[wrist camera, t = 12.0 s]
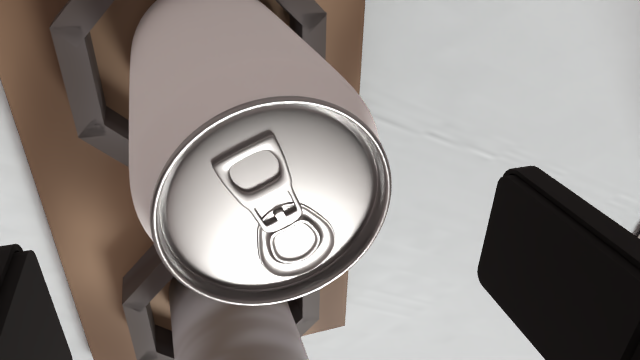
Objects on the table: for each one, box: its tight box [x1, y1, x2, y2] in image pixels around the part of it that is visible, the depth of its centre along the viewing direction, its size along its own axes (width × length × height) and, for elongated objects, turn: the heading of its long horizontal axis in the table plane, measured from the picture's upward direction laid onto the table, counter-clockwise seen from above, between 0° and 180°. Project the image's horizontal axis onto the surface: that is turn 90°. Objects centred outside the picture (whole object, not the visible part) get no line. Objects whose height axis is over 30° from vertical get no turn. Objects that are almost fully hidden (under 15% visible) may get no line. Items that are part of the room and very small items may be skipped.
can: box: [129, 0, 391, 306], centre depth 16 cm, size 6×6×12 cm
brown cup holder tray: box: [0, 0, 365, 360], centre depth 21 cm, size 15×24×10 cm, turn 178°
